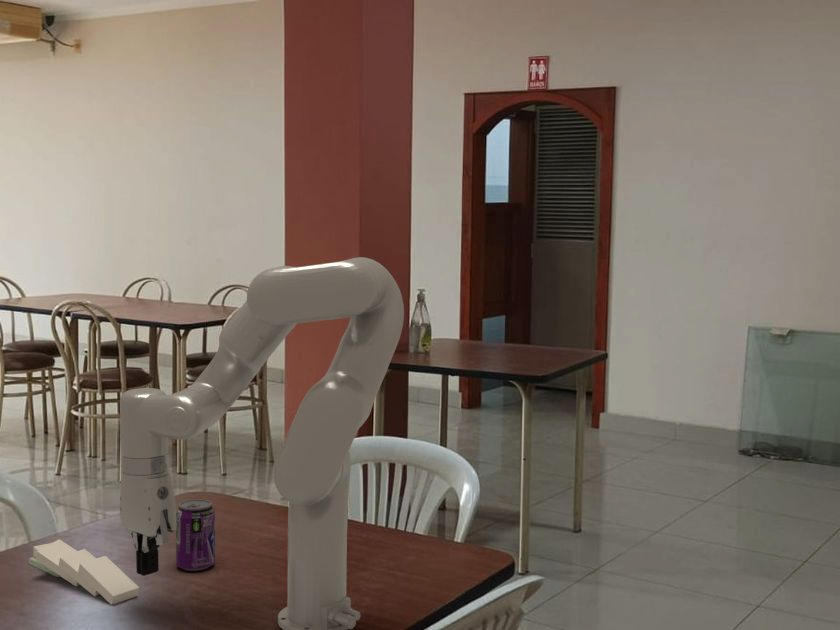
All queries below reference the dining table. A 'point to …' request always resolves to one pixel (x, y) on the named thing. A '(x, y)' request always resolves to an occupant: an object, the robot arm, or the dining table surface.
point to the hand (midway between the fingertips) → (147, 572)
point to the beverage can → (195, 535)
